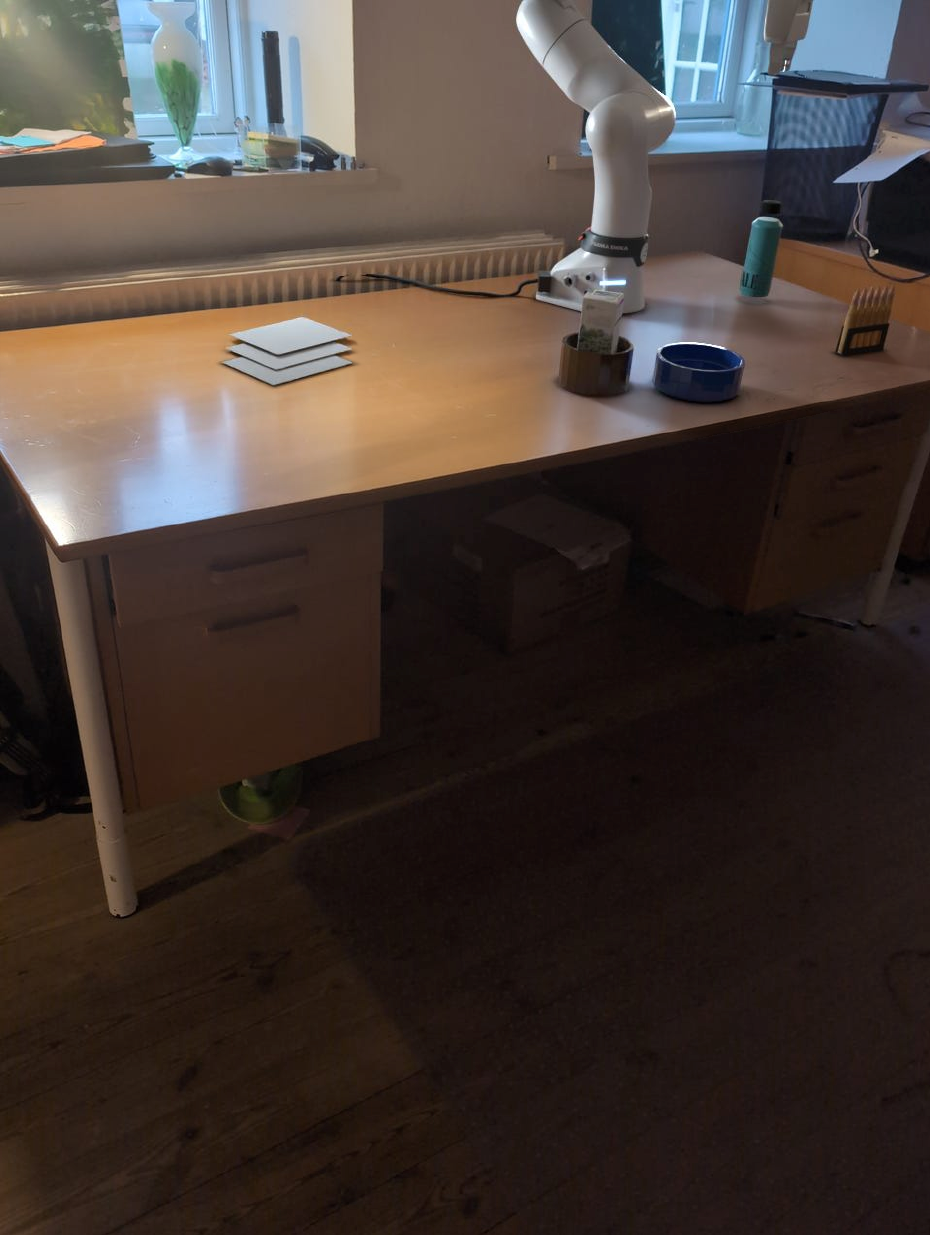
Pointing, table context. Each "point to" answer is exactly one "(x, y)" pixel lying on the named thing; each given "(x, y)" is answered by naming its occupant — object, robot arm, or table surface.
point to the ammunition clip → (866, 322)
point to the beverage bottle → (762, 252)
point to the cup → (595, 368)
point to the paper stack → (288, 350)
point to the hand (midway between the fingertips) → (778, 73)
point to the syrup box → (600, 321)
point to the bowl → (698, 372)
